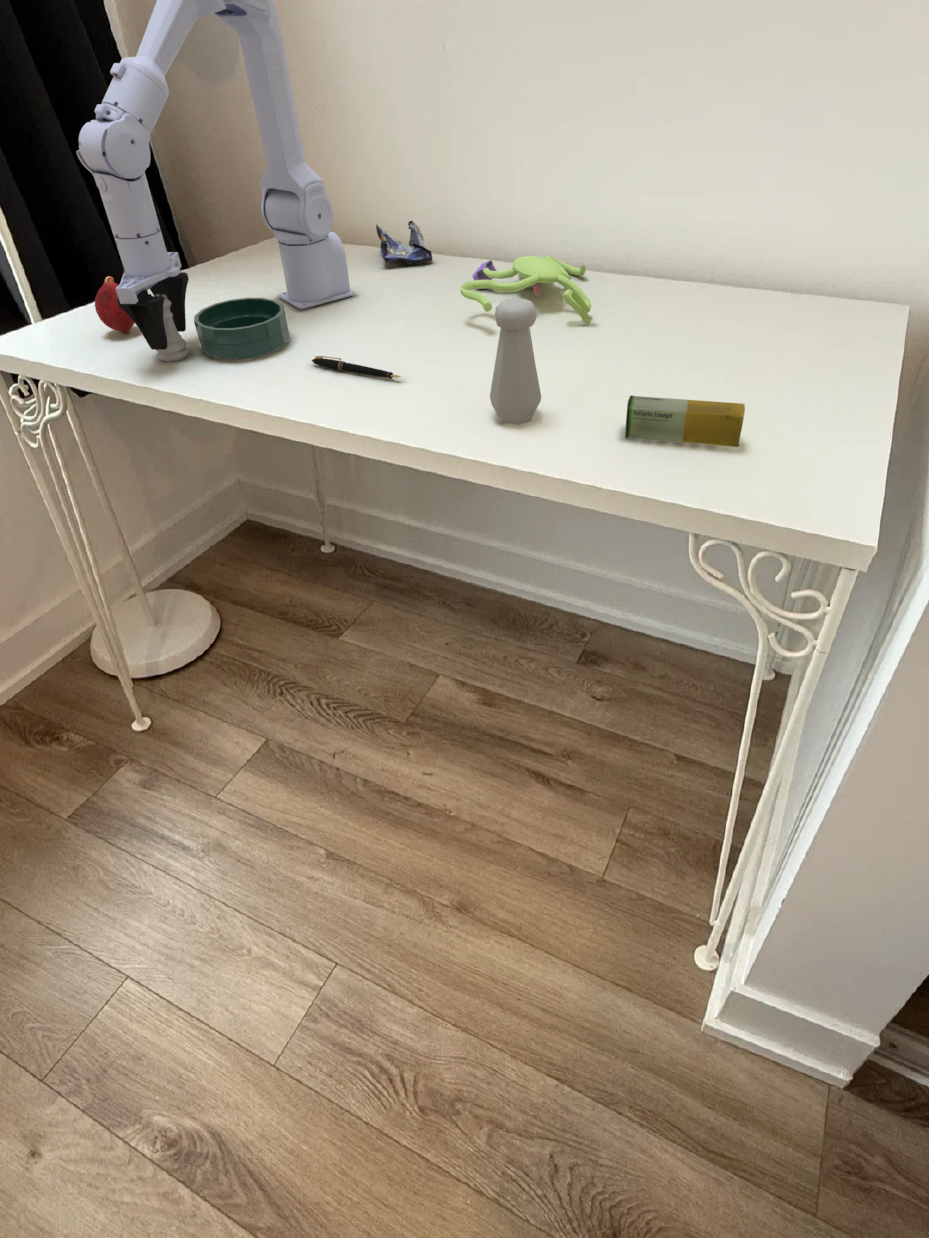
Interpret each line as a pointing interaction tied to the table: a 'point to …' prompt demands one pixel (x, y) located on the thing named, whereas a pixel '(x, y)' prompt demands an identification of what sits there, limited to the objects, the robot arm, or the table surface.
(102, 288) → the onion
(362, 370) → the fountain pen
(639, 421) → the medication box
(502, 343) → the salt shaker
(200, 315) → the green faceted bowl
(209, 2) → the robot arm
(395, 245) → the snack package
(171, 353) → the rook chess piece
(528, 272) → the figurine
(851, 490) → the table surface
